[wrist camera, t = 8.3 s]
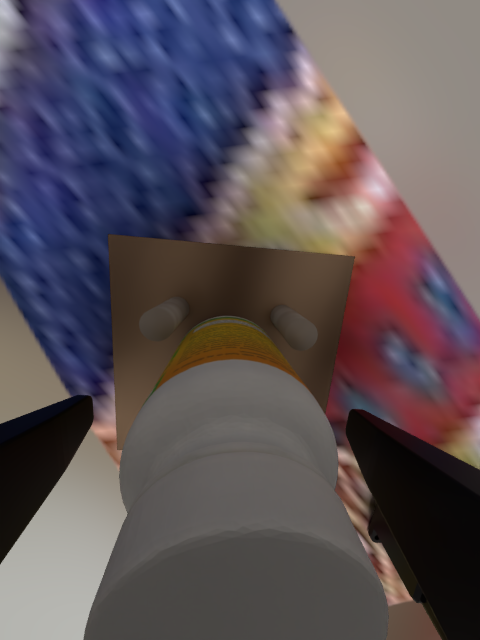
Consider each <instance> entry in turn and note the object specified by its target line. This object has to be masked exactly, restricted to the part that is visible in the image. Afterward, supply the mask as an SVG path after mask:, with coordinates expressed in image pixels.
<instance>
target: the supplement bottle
mask: <svg viewBox="0 0 480 640" xmlns="http://www.w3.org/2000/svg"><path fill="white" fill-rule="evenodd" d="M337 475H338V452H337V446H336V441H335V437H334V433H333V430H332V428H331V426H330V423H329V421H328V419H327V417H326V415H325V414H324V412H323V410H322V409H321V407H320V406H319V404H318V402H317V401H316V399H315V398H314V396H313V395H312V393H311V392H310V391H309V389H308V388H307V386H306V385H305V384H304V382H303V381H302V380H301V379H300V377H299V376H298V375H297V373H296V372H295V371H294V370H293V368H292V367H291V366H290V364H289V363H288V362H287V360H286V359H285V358H284V356H283V355H282V353H281V352H280V351H279V349H278V348H277V347H276V345H275V344H274V342H273V341H272V340H271V338H270V337H269V336H268V335H267V334H266V332H265V331H264V330H263V329H262V328H260V327H259V326H258V325H256V324H255V323H253V322H251V321H249V320H247V319H244V318H240V317H235V316H219V317H214V318H210V319H208V320H205V321H203V322H201V323H199V324H198V325H196V326H195V327H194V328H192V329H191V330H190V331H189V332H188V333H187V334H186V336H185V337H184V338H183V339H182V341H181V342H180V344H179V346H178V347H177V349H176V351H175V353H174V354H173V356H172V358H171V360H170V361H169V363H168V365H167V366H166V368H165V370H164V371H163V373H162V375H161V376H160V378H159V380H158V381H157V383H156V385H155V387H154V388H153V390H152V391H151V393H150V395H149V396H148V398H147V399H146V401H145V403H144V404H143V406H142V408H141V409H140V411H139V413H138V415H137V416H136V418H135V420H134V422H133V424H132V426H131V428H130V430H129V432H128V434H127V437H126V440H125V443H124V446H123V450H122V455H121V461H120V474H119V478H120V489H121V494H122V499H123V503H124V505H125V508H126V511H127V513H128V514H127V517H126V519H125V521H124V523H123V525H122V528H121V530H120V533H119V535H118V538H117V541H116V543H115V546H114V548H113V551H112V554H111V556H110V559H109V562H108V564H107V567H106V570H105V573H104V575H103V578H102V581H101V583H100V586H99V589H98V592H97V594H96V597H95V600H94V602H93V605H92V608H91V611H90V614H89V618H88V621H87V625H86V628H85V634H84V640H386V637H387V630H388V618H389V615H388V605H387V600H386V596H385V593H384V589H383V586H382V583H381V581H380V579H379V577H378V575H377V573H376V571H375V569H374V567H373V565H372V563H371V561H370V559H369V557H368V555H367V553H366V551H365V548H364V546H363V544H362V542H361V540H360V538H359V536H358V534H357V532H356V530H355V528H354V526H353V524H352V522H351V520H350V517H349V515H348V513H347V510H346V508H345V506H344V504H343V502H342V500H341V498H340V497H339V496H338V495H337V493H336V492H335V491H334V490H335V487H336V482H337Z"/></svg>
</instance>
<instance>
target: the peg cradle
mask: <svg viewBox="0 0 480 640" xmlns="http://www.w3.org/2000/svg"><path fill="white" fill-rule="evenodd" d="M108 246H109V269H110V292H111V315H112V338H113V361H114V384H115V407H116V431H117V450H123V446H124V443H125V440H126V437H127V434H128V432H129V430H130V428H131V426H132V424H133V422H134V420H135V418H136V416H137V415H138V413H139V411H140V409H141V408H142V406H143V404H144V403H145V401H146V399H147V398H148V396H149V395H150V393H151V391H152V390H153V388H154V387H155V385H156V383H157V381H158V380H159V378H160V376H161V375H162V373H163V371H164V370H165V368H166V366H167V365H168V363H169V361H170V360H171V358H172V356H173V354H174V353H175V351H176V349H177V347H178V346H179V344H180V342H181V341H182V339H183V338H184V337H185V336H186V334H187V333H188V332H189V331H190V330H191V329H192V328H194V327H195V326H196V325H198V324H199V323H201V322H203V321H205V320H208V319H210V318H214V317H219V316H235V317H240V318H244V319H247V320H249V321H251V322H253V323H255V324H256V325H258V326H259V327H260V328H262V329H263V330H264V331H265V332H266V334H267V335H268V336H269V337H270V338H271V340H272V341H273V342H274V344H275V345H276V347H277V348H278V349H279V351H280V352H281V353H282V355H283V356H284V358H285V359H286V360H287V362H288V363H289V364H290V366H291V367H292V368H293V370H294V371H295V372H296V373H297V375H298V376H299V377H300V379H301V380H302V381H303V382H304V384H305V385H306V386H307V388H308V389H309V391H310V392H311V393H312V395H313V396H314V398H315V399H316V401H317V402H318V404H319V406H320V407H321V409H322V410H323V412H324V414H325V412H326V407H327V402H328V396H329V391H330V386H331V380H332V375H333V370H334V365H335V359H336V354H337V349H338V343H339V338H340V333H341V327H342V322H343V317H344V312H345V306H346V301H347V296H348V290H349V285H350V280H351V274H352V269H353V264H354V259H355V256H344V255H332V254H321V253H310V252H299V251H288V250H277V249H266V248H255V247H244V246H233V245H222V244H211V243H200V242H189V241H178V240H167V239H156V238H145V237H134V236H123V235H112V234H108Z"/></svg>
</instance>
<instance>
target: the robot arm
mask: <svg viewBox="0 0 480 640" xmlns="http://www.w3.org/2000/svg"><path fill="white" fill-rule="evenodd" d="M93 418H94V415H93V400H92V397H91V396H88V395H76V396H73V397H71V398H68V399H65V400H63V401H60V402H57V403H55V404H52V405H49V406H47V407H44V408H42V409H39V410H36V411H34V412H31V413H28V414H26V415H23V416H20V417H18V418H15V419H12V420H10V421H7V422H4V423H2V424H0V564H1V562H2V561H3V560H4V558H5V557H6V555H7V553H8V552H9V551H10V550H11V548H12V547H13V545H14V544H15V542H16V541H17V539H18V538H19V537H20V535H21V534H22V532H23V531H24V529H25V528H26V526H27V525H28V524H29V522H30V521H31V519H32V518H33V517H34V515H35V514H36V512H37V511H38V509H39V508H40V506H41V505H42V504H43V502H44V501H45V499H46V498H47V496H48V495H49V494H50V492H51V491H52V489H53V488H54V486H55V485H56V483H57V482H58V481H59V479H60V478H61V476H62V475H63V473H64V472H65V470H66V469H67V467H68V465H69V464H70V462H71V460H72V458H73V457H74V455H75V453H76V451H77V450H78V448H79V446H80V444H81V443H82V441H83V439H84V437H85V436H86V434H87V432H88V430H89V429H90V427H91V425H92V423H93ZM346 436H347V438H348V441H349V443H350V446H351V448H352V451H353V453H354V456H355V458H356V460H357V463H358V465H359V468H360V470H361V473H362V475H363V477H364V479H365V481H366V483H367V485H368V488H369V489H370V491H371V493H372V495H373V497H374V499H375V501H376V505H375V509H374V512H373V516H372V520H371V523H370V527H369V531H368V534H369V536H370V538H371V540H372V541H373V542H376V543H382V545H383V546H384V548H385V550H386V552H387V554H388V556H389V557H390V559H391V561H392V563H393V565H394V567H395V568H396V570H397V572H398V574H399V576H400V578H401V579H402V581H403V583H404V585H405V587H406V589H407V590H408V592H409V594H410V596H411V597H412V598H413V600H414V601H415V602H416V603H422V605H423V607H424V609H425V610H426V612H427V614H428V615H429V617H430V619H431V621H432V623H433V625H434V626H435V628H436V630H437V632H438V633H439V635H440V637H441V639H442V640H480V470H479V469H477V468H475V467H473V466H471V465H469V464H467V463H465V462H463V461H461V460H459V459H457V458H456V457H454V456H452V455H450V454H448V453H446V452H444V451H442V450H440V449H438V448H436V447H434V446H432V445H430V444H429V443H427V442H425V441H423V440H421V439H419V438H417V437H415V436H413V435H411V434H409V433H407V432H405V431H403V430H401V429H400V428H398V427H396V426H394V425H392V424H390V423H388V422H386V421H384V420H382V419H380V418H378V417H376V416H374V415H372V414H371V413H369V412H367V411H365V410H362V409H352V410H350V412H349V416H348V420H347V425H346Z"/></svg>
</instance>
